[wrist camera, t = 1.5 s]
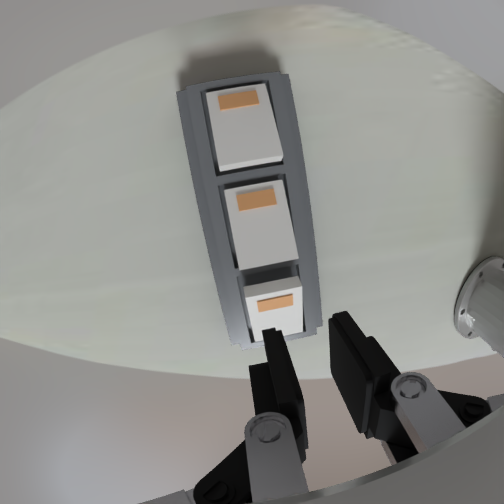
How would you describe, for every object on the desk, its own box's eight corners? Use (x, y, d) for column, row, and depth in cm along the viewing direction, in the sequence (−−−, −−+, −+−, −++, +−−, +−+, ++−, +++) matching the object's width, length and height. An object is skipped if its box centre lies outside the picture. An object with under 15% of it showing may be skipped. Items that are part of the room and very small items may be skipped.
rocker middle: (295, 258, 23) (299, 258, 22) (239, 269, 23) (239, 270, 22) (280, 183, 23) (282, 178, 22) (225, 193, 23) (223, 189, 22)
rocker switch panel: (315, 313, 31) (325, 331, 27) (230, 331, 30) (231, 351, 27) (282, 80, 23) (291, 70, 20) (180, 97, 23) (173, 89, 20)
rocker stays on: (281, 160, 21) (283, 154, 19) (220, 171, 21) (218, 165, 19) (263, 91, 21) (265, 82, 20) (207, 100, 21) (205, 92, 19)
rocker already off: (299, 321, 27) (303, 333, 26) (253, 331, 27) (255, 343, 26) (298, 275, 24) (302, 287, 23) (243, 286, 24) (245, 299, 23)
